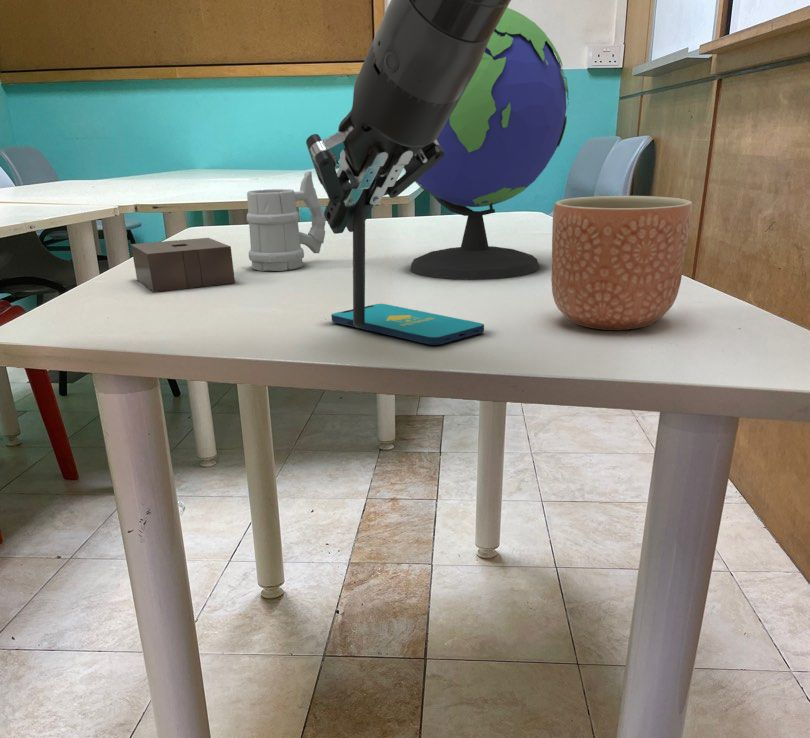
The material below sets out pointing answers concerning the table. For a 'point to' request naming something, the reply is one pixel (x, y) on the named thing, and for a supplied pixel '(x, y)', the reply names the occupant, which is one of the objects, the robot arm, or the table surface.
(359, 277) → the stylus
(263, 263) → the mug
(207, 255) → the pen stand
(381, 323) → the smartphone
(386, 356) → the table surface
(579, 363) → the table surface
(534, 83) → the globe
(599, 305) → the planter
